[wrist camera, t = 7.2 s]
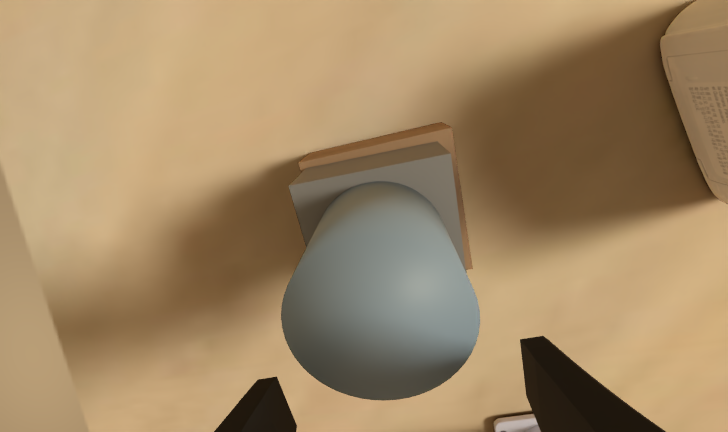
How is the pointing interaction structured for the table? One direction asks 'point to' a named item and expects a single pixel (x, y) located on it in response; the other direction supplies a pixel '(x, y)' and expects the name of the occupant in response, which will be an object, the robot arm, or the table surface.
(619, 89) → the table surface
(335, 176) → the block
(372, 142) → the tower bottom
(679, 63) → the cream book
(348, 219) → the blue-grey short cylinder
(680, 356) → the table surface
